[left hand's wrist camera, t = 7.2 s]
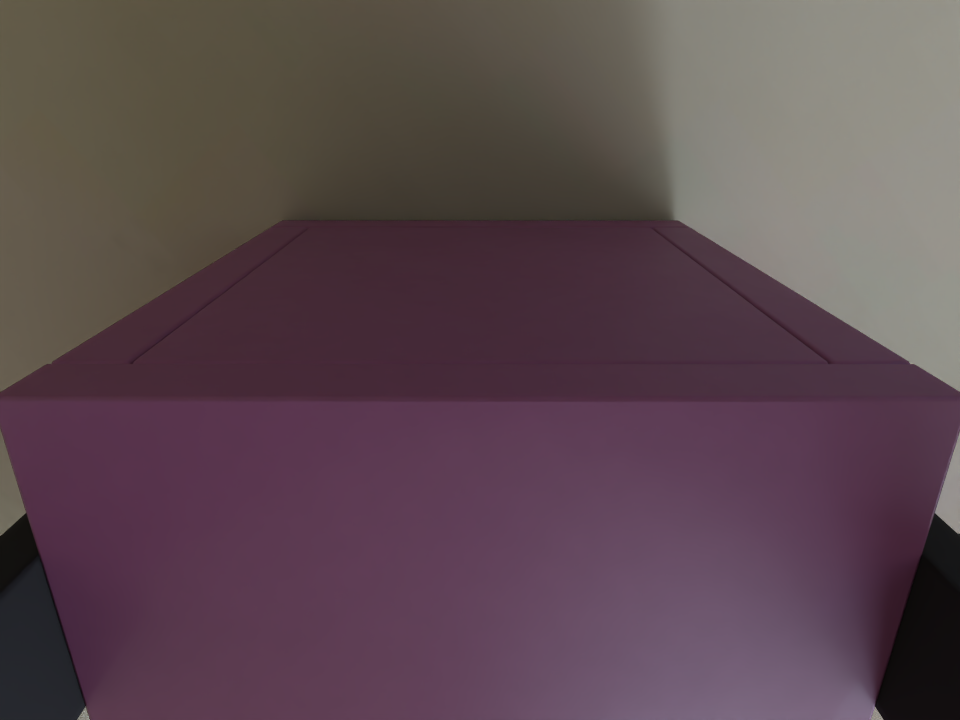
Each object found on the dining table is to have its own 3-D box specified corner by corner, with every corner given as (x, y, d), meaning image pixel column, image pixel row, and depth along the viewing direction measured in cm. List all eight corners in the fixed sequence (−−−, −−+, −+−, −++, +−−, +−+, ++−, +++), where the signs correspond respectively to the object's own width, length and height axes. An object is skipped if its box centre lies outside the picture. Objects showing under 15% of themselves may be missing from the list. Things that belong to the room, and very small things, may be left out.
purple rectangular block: (620, 741, 27) (722, 1204, 15) (339, 741, 27) (237, 1204, 15) (679, 219, 19) (972, 396, 8) (280, 219, 19) (-14, 397, 8)
